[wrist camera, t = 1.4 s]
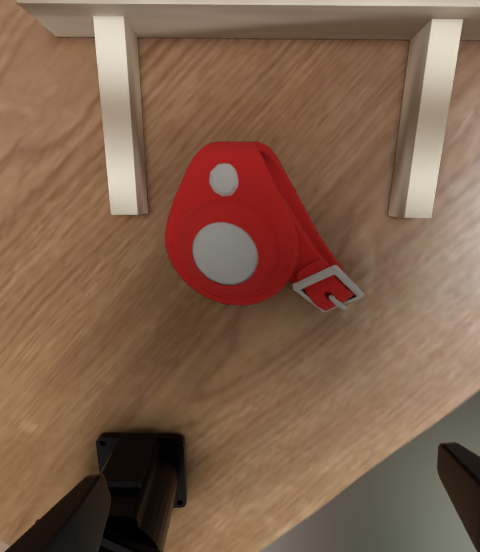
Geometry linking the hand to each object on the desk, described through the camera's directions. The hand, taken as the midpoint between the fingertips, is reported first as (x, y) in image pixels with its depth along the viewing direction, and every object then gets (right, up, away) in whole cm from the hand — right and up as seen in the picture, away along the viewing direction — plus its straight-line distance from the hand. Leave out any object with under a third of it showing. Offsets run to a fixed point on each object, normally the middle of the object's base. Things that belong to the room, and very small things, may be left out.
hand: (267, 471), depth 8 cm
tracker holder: (0, +7, +12) cm, 14 cm away
